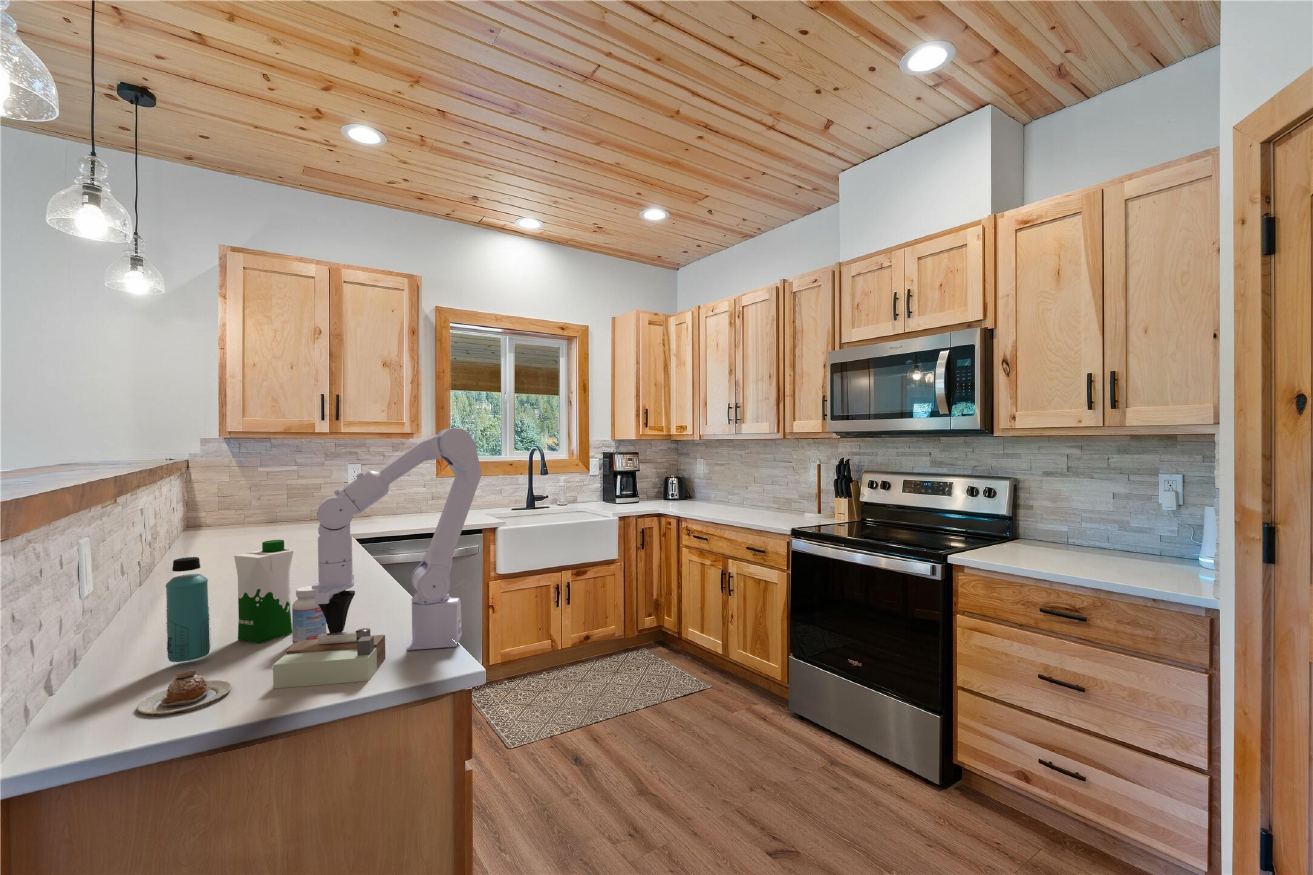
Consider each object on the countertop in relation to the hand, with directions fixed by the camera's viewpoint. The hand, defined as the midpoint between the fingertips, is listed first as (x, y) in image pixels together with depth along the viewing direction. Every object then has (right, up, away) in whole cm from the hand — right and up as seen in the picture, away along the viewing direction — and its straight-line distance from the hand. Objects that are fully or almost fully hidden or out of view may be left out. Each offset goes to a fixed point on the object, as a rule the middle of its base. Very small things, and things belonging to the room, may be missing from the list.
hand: (336, 631), depth 113 cm
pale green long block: (+3, -5, -9) cm, 11 cm away
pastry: (-15, -6, -17) cm, 23 cm away
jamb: (+2, -5, -4) cm, 7 cm away
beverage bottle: (-27, -6, -1) cm, 28 cm away
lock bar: (+4, 0, -4) cm, 5 cm away
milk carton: (-23, -6, +14) cm, 27 cm away
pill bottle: (-11, -6, +10) cm, 16 cm away
